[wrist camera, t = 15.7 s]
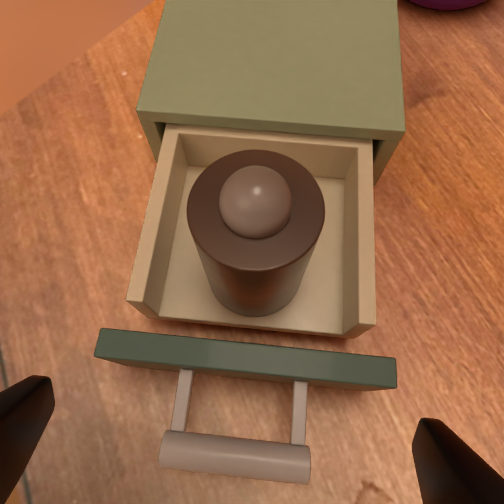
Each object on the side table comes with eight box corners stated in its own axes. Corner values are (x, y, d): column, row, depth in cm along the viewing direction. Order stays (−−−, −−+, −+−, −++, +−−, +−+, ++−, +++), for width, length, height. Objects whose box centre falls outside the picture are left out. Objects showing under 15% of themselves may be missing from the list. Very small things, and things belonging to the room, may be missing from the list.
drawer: (368, 480, 17) (402, 503, 13) (107, 450, 18) (65, 464, 14) (364, 180, 23) (387, 134, 20) (169, 163, 24) (153, 115, 20)
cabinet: (370, 195, 24) (406, 131, 18) (162, 177, 25) (135, 109, 19) (367, 43, 29) (394, -43, 24) (194, 31, 30) (180, -56, 24)
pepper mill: (284, 331, 19) (308, 277, 11) (193, 298, 20) (151, 225, 11) (312, 245, 21) (351, 144, 13) (227, 218, 21) (212, 105, 13)
